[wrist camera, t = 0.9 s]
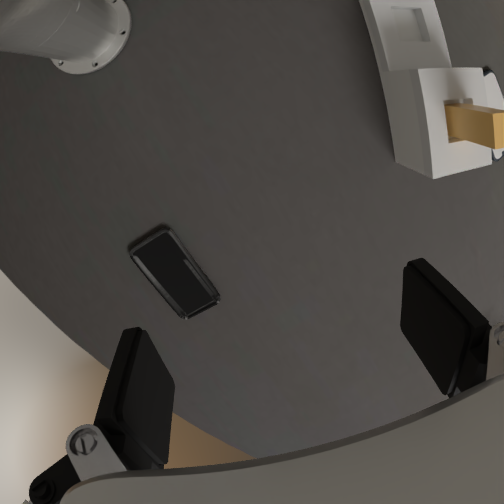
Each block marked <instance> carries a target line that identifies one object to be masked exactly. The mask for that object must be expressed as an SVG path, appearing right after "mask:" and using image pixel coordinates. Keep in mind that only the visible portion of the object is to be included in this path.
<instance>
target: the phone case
mask: <svg viewBox="0 0 504 504" xmlns="http://www.w3.org/2000/svg"><path fill="white" fill-rule="evenodd" d="M483 76H484V82H485V88H486V95H487V103H488V107H489V108H495V109H500V110H504V97H503V94H502V92H501V89H500V86H499V83H498V81H497V78H496V76H495V73H494V72H493V71H492V70H486V71H484V72H483ZM491 152H492V160H494V161H499V160H500V159H501V158H502V157H503V156H504V148H500V149H492V148H491Z"/></svg>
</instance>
